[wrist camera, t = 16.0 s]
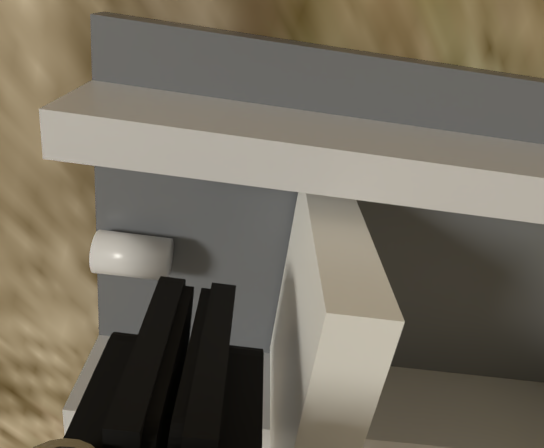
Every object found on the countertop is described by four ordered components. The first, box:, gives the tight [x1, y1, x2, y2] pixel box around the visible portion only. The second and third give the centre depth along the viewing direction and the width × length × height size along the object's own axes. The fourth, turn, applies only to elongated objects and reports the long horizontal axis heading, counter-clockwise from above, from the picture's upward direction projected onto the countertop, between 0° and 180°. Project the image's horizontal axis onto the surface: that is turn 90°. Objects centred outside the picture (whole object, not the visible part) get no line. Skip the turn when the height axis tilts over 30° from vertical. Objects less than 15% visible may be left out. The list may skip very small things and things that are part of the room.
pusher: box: [270, 192, 405, 448], centre depth 11 cm, size 6×1×6 cm, turn 172°
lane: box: [39, 12, 544, 448], centre depth 13 cm, size 12×22×4 cm, turn 82°
